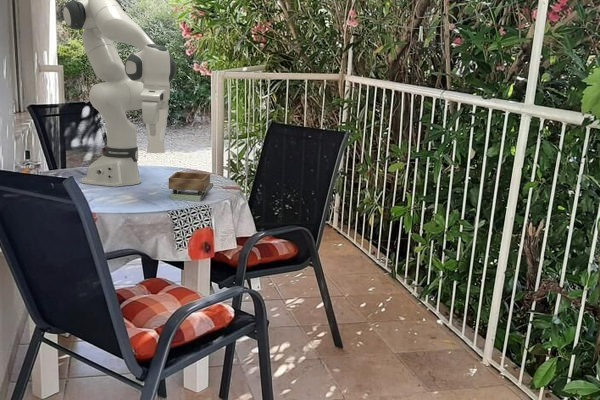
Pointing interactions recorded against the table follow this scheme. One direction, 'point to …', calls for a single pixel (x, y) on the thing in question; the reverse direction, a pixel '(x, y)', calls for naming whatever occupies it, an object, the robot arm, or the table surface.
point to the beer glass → (157, 134)
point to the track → (190, 195)
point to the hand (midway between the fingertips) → (155, 134)
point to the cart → (189, 181)
